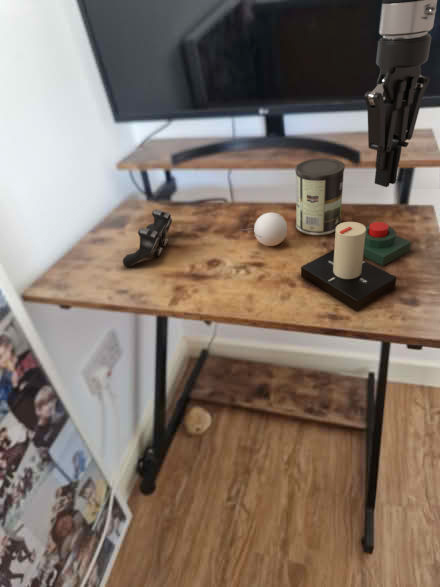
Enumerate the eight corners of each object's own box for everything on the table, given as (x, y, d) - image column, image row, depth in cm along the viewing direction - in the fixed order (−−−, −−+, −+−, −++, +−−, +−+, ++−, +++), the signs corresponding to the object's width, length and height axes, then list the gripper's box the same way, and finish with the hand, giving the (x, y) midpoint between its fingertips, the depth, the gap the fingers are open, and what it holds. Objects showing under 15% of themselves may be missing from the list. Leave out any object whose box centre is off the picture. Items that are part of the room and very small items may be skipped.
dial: (346, 260, 77) (349, 217, 72) (367, 271, 74) (372, 226, 68) (327, 271, 76) (329, 227, 70) (347, 282, 72) (351, 237, 66)
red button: (391, 233, 81) (392, 226, 80) (379, 240, 80) (380, 232, 79) (376, 227, 84) (377, 220, 83) (364, 233, 82) (365, 226, 81)
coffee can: (335, 212, 98) (339, 155, 90) (344, 233, 90) (349, 172, 82) (293, 216, 99) (292, 160, 91) (298, 237, 91) (298, 177, 83)
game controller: (147, 280, 90) (159, 246, 83) (119, 267, 89) (128, 232, 83) (170, 242, 102) (182, 210, 95) (145, 231, 101) (155, 198, 95)
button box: (409, 251, 82) (412, 233, 79) (382, 266, 79) (385, 248, 76) (370, 233, 89) (372, 217, 86) (344, 247, 86) (345, 230, 84)
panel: (395, 288, 73) (397, 276, 72) (356, 311, 69) (357, 299, 68) (337, 257, 83) (338, 246, 81) (300, 277, 79) (300, 265, 78)
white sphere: (290, 236, 92) (290, 206, 88) (284, 253, 87) (283, 223, 82) (248, 234, 95) (245, 205, 91) (240, 250, 90) (236, 221, 85)
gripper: (394, 43, 56) (375, 201, 70) (457, 26, 61) (427, 176, 75) (352, 42, 61) (342, 189, 75) (413, 27, 66) (393, 167, 80)
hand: (384, 183), depth 75 cm, fingers closed
